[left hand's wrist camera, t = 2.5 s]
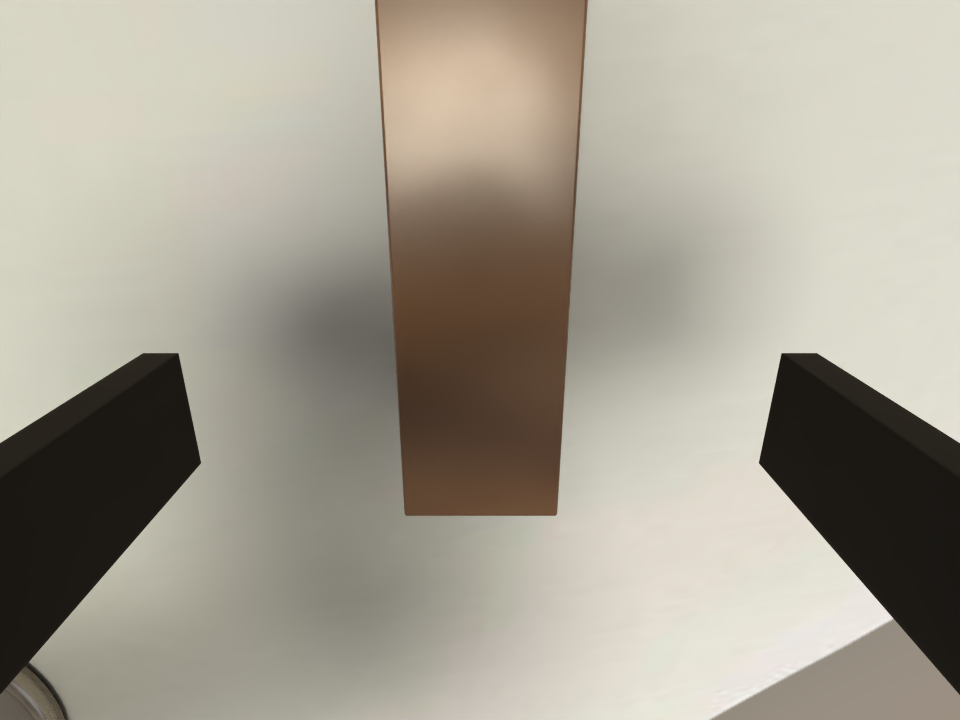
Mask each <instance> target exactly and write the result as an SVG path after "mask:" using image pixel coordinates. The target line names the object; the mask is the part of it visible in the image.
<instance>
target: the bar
mask: <svg viewBox="0 0 960 720" xmlns="http://www.w3.org/2000/svg"><path fill="white" fill-rule="evenodd" d="M587 3H588V0H375V12H376V29H377V46H378V63H379V80H380V98H381V115H382V132H383V149H384V166H385V184H386V201H387V218H388V235H389V252H390V270H391V287H392V304H393V321H394V338H395V356H396V373H397V390H398V407H399V424H400V441H401V459H402V476H403V493H404V510H405V515H407V516H555V515H557V507H558V490H559V473H560V456H561V440H562V423H563V406H564V389H565V373H566V356H567V339H568V322H569V305H570V289H571V272H572V255H573V238H574V221H575V205H576V188H577V171H578V154H579V137H580V121H581V104H582V87H583V70H584V53H585V37H586V20H587Z"/></svg>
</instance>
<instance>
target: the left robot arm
mask: <svg viewBox="0 0 960 720" xmlns="http://www.w3.org/2000/svg"><path fill="white" fill-rule="evenodd" d="M200 464H201V460H200V456H199V451H198V446H197V441H196V436H195V431H194V427H193V422H192V417H191V412H190V407H189V403H188V398H187V393H186V388H185V383H184V378H183V374H182V369H181V364H180V359H179V354H178V353H143V354H141V355H140V356H138V357H137V358H135V359H133V360H132V361H130V362H129V363H127V364H125V365H124V366H122V367H121V368H119V369H117V370H116V371H114V372H113V373H111V374H109V375H108V376H106V377H105V378H103V379H102V380H100V381H98V382H97V383H95V384H94V385H92V386H90V387H89V388H87V389H86V390H84V391H82V392H81V393H79V394H78V395H76V396H75V397H73V398H71V399H70V400H68V401H67V402H65V403H63V404H62V405H60V406H59V407H57V408H55V409H54V410H52V411H51V412H49V413H48V414H46V415H44V416H43V417H41V418H40V419H38V420H36V421H35V422H33V423H32V424H30V425H28V426H27V427H25V428H24V429H22V430H21V431H19V432H17V433H16V434H14V435H13V436H11V437H9V438H8V439H6V440H5V441H3V442H1V443H0V720H65V718H64V716H63V713H62V711H61V708H60V707H59V705H58V703H57V701H56V699H55V698H54V696H53V695H52V693H51V692H50V691H49V689H48V688H47V687H46V686H45V684H44V683H43V682H42V681H41V680H40V679H39V678H38V677H37V676H36V675H35V674H34V673H33V672H32V671H31V670H29V669H28V668H27V667H26V664H27V663H28V662H29V661H30V660H31V659H32V658H33V656H34V655H35V654H36V653H37V652H38V651H39V649H40V648H41V647H42V646H43V645H44V644H45V643H46V641H47V640H48V639H49V638H50V637H51V636H52V634H53V633H54V632H55V631H56V630H57V629H58V628H59V626H60V625H61V624H62V623H63V622H64V621H65V619H66V618H67V617H68V616H69V615H70V614H71V613H72V611H73V610H74V609H75V608H76V607H77V606H78V604H79V603H80V602H81V601H82V600H83V599H84V598H85V596H86V595H87V594H88V593H89V592H90V591H91V589H92V588H93V587H94V586H95V585H96V584H97V583H98V581H99V580H100V579H101V578H102V577H103V576H104V574H105V573H106V572H107V571H108V570H109V569H110V568H111V566H112V565H113V564H114V563H115V562H116V561H117V559H118V558H119V557H120V556H121V555H122V554H123V553H124V551H125V550H126V549H127V548H128V547H129V546H130V544H131V543H132V542H133V541H134V540H135V539H136V538H137V536H138V535H139V534H140V533H141V532H142V531H143V529H144V528H145V527H146V526H147V525H148V524H149V523H150V521H151V520H152V519H153V518H154V517H155V516H156V514H157V513H158V512H159V511H160V510H161V509H162V508H163V506H164V505H165V504H166V503H167V502H168V501H169V499H170V498H171V497H172V496H173V495H174V494H175V493H176V491H177V490H178V489H179V488H180V487H181V486H182V484H183V483H184V482H185V481H186V480H187V479H188V478H189V476H190V475H191V474H192V473H193V472H194V471H195V470H196V468H197V467H198V466H199V465H200ZM759 464H760V465H761V466H762V467H763V468H764V470H765V471H766V472H767V473H768V474H769V475H770V476H771V478H772V479H773V480H774V481H775V482H776V483H777V484H778V486H779V487H780V488H781V489H782V490H783V491H784V493H785V494H786V495H787V496H788V497H789V498H790V499H791V501H792V502H793V503H794V504H795V505H796V506H797V508H798V509H799V510H800V511H801V512H802V513H803V514H804V516H805V517H806V518H807V519H808V520H809V521H810V523H811V524H812V525H813V526H814V527H815V528H816V529H817V531H818V532H819V533H820V534H821V535H822V536H823V538H824V539H825V540H826V541H827V542H828V543H829V544H830V546H831V547H832V548H833V549H834V550H835V551H836V553H837V554H838V555H839V556H840V557H841V558H842V559H843V561H844V562H845V563H846V564H847V565H848V566H849V568H850V569H851V570H852V571H853V572H854V573H855V574H856V576H857V577H858V578H859V579H860V580H861V581H862V583H863V584H864V585H865V586H866V587H867V588H868V589H869V591H870V592H871V593H872V594H873V595H874V596H875V598H876V599H877V600H878V601H879V602H880V603H881V604H882V606H883V607H884V608H885V609H886V610H887V611H888V613H889V614H890V615H891V616H892V617H893V618H894V619H895V621H896V622H897V623H898V624H899V625H900V626H901V627H902V629H903V630H904V631H905V632H906V633H907V634H908V636H909V637H910V638H911V639H912V640H913V641H914V643H915V644H916V645H917V646H918V647H919V648H920V649H921V651H922V652H923V653H924V654H925V655H926V656H927V657H928V659H929V660H930V661H931V662H932V663H933V664H934V666H935V667H936V668H937V669H938V670H939V671H940V673H941V674H942V675H943V676H944V677H945V678H946V679H947V681H948V682H949V683H950V684H951V685H952V686H953V688H954V689H955V690H956V691H957V692H958V693H959V694H960V443H959V442H957V441H955V440H954V439H952V438H951V437H949V436H947V435H946V434H944V433H943V432H941V431H939V430H938V429H936V428H935V427H933V426H932V425H930V424H928V423H927V422H925V421H924V420H922V419H920V418H919V417H917V416H916V415H914V414H912V413H911V412H909V411H908V410H906V409H905V408H903V407H901V406H900V405H898V404H897V403H895V402H893V401H892V400H890V399H889V398H887V397H885V396H884V395H882V394H881V393H879V392H878V391H876V390H874V389H873V388H871V387H870V386H868V385H866V384H865V383H863V382H862V381H860V380H858V379H857V378H855V377H854V376H852V375H850V374H849V373H847V372H846V371H844V370H843V369H841V368H839V367H838V366H836V365H835V364H833V363H831V362H830V361H828V360H827V359H825V358H823V357H822V356H820V355H819V354H817V353H782V354H781V359H780V364H779V369H778V374H777V378H776V383H775V388H774V393H773V398H772V403H771V407H770V412H769V417H768V422H767V427H766V431H765V436H764V441H763V446H762V451H761V456H760V460H759Z"/></svg>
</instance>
